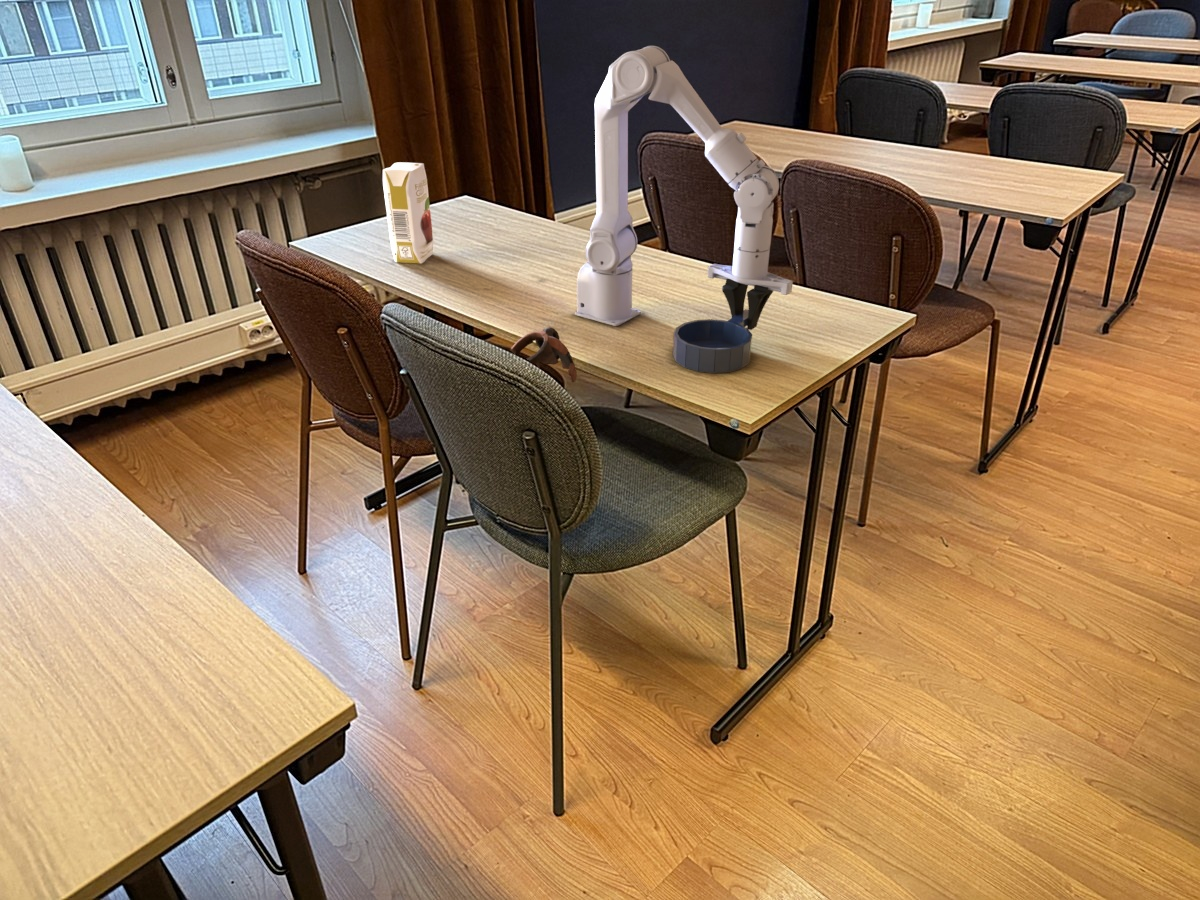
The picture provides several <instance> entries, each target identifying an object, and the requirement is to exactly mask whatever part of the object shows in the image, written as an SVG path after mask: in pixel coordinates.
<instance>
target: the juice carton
mask: <svg viewBox="0 0 1200 900" xmlns="http://www.w3.org/2000/svg"><path fill="white" fill-rule="evenodd" d="M425 168H426V167H425V163H423V162H407V161H405V162H404V161H403V162H401V161H399V162H394V163H393V164H392V165H391V166H390V167H386V168H384V169H382V187H383V194H384V195H383V196H384V203H385V210H386V219H387V225H388V234H389V242H390V248H391V253H392V256H393V260H394V262H395V263H404V264H424V263H425V261H426V260H427V259H429V258H430V257H431V256H432V255H433V253H434V235H433V223H432V214H431V213H432V212H431V205H430V197H429V195H430V194H429V187H428V186H429V185H428V178H427V173H426V169H425Z"/></svg>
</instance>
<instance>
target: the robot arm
mask: <svg viewBox="0 0 1200 900" xmlns="http://www.w3.org/2000/svg"><path fill="white" fill-rule="evenodd" d="M648 94H649V96H648V100H649V101H653V102H658V103H663V104H668V105H670V106H671V107H672V108H673V109H674V110H675V111H676V113H678V114H679V116H680V117H681V118H682V119H683V120H684V122H685V123H687V125H688V126H689V127H690V128H691V129H692V130H693V132H694V133H696V135H697V136H698V137H699V138H700V139H701V140H702V141H703V142H704V157H705V158H706V159H707V160H708V161H709V163H710V164H711V165H712V166H713V167H714V169H715V170H716V172H718V174H719V175H720V176H721V177H722V178H723V180H724V181H725V182H726V183H727V184H728V186H729V187H730V188H732V189H733V190H734V192H733V198H734V201H735V204H736V205H737V216H736V220H735V232H734V245H733V257H732V265H726V264H718V263H713V264H710V265H709V266H707V278H708V279H719V280H722V281H723V280H724V281H725V283H724V284H722V286H721V291H722V292H723V295H724V297H725V299H726V301H727V304H728V307H729V310H730V311H729V312H730V317H731V318H732V317H734V316H736V315H737V314H739V313H740V312H742V311H744V310H745V301H746V296H747V307H748V310H749V313H748V322H747V326H746V328H747V329H748V330H749V331H752V330H753V329H755V328H756V327H757V326H758V322H759V319H760V317H761V314H762V312H763V310H764V308H765V306H766V303H767V302H768V300H769V299H770V297H771V295H772V294H773V293H774V292H776V293H780V295H783V296H787V295H789V294H790V293H792V290H793V285H794V280H791V279H788V278H785V277H783V276H782V277H781V276H779V275H777V274H774V273H771V272H769V263H770V262H769V260H770V252H771V243H772V232H773V224H774V223H773V222H774V219H773V218H774V217H773V215H774V202H773V200H774V199H775V198H776V196H777V195H778V193H779V189H780V182H779V181H780V180H779V177H778V176H777V174H776V171H775V169H773V168H772V167H770V166H767V165H766V163H765V161H764V160H763V159H762V158H761V159H760V160H759V159H758V158H757V156H756V155H755V153H753V151H752V150H751V149H750V148H749V146H748V145H747V144H746V143H745V141H746V140H747V137H746V135H745V134H744V133H743V132H739V133H738V132H737V131H736V130H735V129H733V128H725V127H722V126H721V125H720V123H719V122H718V120H717V118H715V116H714V115H713V113H712V112H711V111H710V109H709V108H708V107H707V105H706V104H705V102H704V101H703V100H702V98H701V97H700V95H699V94H698V92H697V91H696V90H695V89H694V88H693V86H692V85H691V83H690V82H689V80H688V79H687V78H686V76H685V75H684V72H683V71H682V70H681V68H680V66H679V65H678V64H677V63H676V62H675V61H673V60H671V59H670V57H669V55H668V54H667V52H666V51H665V50H664V49H663V48H661V47H660V46H656V45H647V46H645V47H642V48H641V49H637V50H630V51H627V52H624V53H623V54H622V55H620V56H619V57H617V59H616V60H614V62H612V63H611V64H610V65H609V67H608V72H607V74H606V76H605V79H604V80H603V82H602V85H601V87H600V89H599V91H598V93H596V97H595V98H594V130H595V131H594V135H595V136H594V137H595V138H594V139H595V140H594V141H595V142H594V145H595V195H596V198H595V199H596V201H595V202H596V213H595V216H594V218H593V221H592V224H591V226H590V231H589V233H590V235H589V240H588V243H587V244H586V246H585V258H586V261H587V262H585V263H584V264H583V265H581V267H580V269H579V271H578V274H577V277H576V278H577V279H576V308H577V309H576V311H575V312H574V315H575V316H578V317H581V318H584V319H588V320H592V321H596V322H599V323H602V324H606V325H608V326H609V325H610V326H613V327H619V326H620V325H623V324H624V323H626V322H628V321H630V320H632V319H634V318H635V317H638V316H639V315H642V310H640V309H637V308H633V267H634V266H633V265H634V264H633V262H632V256H633V255H634V254H635V252H636V250H637V248H638V243H639V242H638V237H637V236H638V235H637V233H636V230H635V229H634V224H633V217H632V214H631V213H630V211H629V189H628V187H629V161H628V160H629V130H628V129H629V112H630V110H631V109H632V108H634V106H635V105H637V103H638V102H639V101H641V100H642V99H643V97H645V96H646V95H648ZM749 286H750V287H753V288H751V289H749V290H748V287H749Z"/></svg>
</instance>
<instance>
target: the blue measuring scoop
mask: <svg viewBox="0 0 1200 900" xmlns="http://www.w3.org/2000/svg"><path fill="white" fill-rule="evenodd" d="M748 313H749V309H747V308H746V309H745V308H744V311H742V312H740V313H739V314H737V315H736V316H734V317H732V316H731V318H729V319H728V320H725V319H712V318H708V319H706V318H705V319H694V320H690V321H687V322H683V323H682V324H680V325H678V326H676V328H675V330H674V331H673V343H672V344H673V345H672V357H673V359H674V361H675V362H676V363H677V364H678V365H680V366H682V367H683V368H685V369H688V370H692V371H695V372H699V373H709V374H723V373H731V372H734V371H735V372H736V371H739V370H741V369H743V368H745V367H746V366H748V364H750V360H751V352H752V343H753V342H752V341H753V333H752V332H751V330H749V329H747V322H748Z"/></svg>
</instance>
